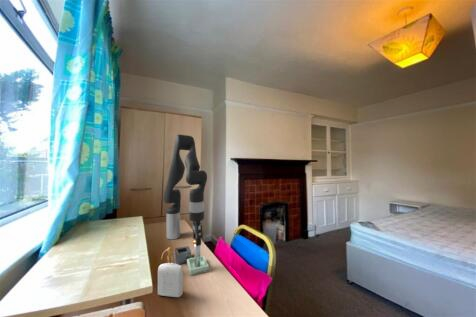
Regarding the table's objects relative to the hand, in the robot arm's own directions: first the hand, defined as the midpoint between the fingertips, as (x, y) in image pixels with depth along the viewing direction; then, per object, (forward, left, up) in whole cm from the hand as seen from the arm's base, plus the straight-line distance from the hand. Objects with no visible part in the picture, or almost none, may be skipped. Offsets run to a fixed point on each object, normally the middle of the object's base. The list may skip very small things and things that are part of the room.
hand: (196, 241), depth 100 cm
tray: (0, 0, -13) cm, 13 cm away
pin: (0, 0, -12) cm, 12 cm away
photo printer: (+15, -14, -13) cm, 24 cm away
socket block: (-11, -6, -13) cm, 18 cm away
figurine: (-1, -13, -13) cm, 18 cm away
